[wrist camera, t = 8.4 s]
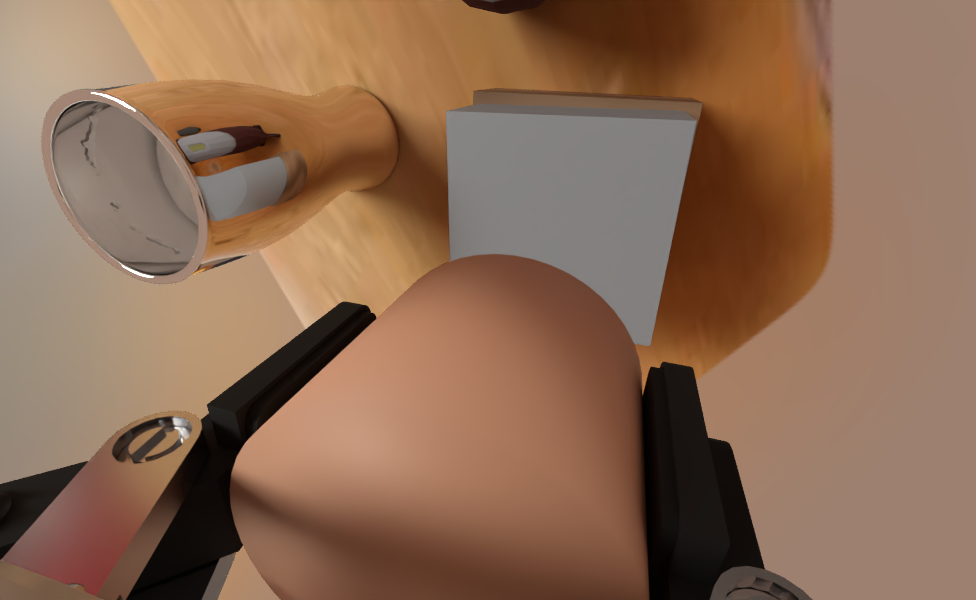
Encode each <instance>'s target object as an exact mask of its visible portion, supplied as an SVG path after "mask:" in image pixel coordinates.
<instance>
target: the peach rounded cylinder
mask: <svg viewBox="0 0 976 600" xmlns="http://www.w3.org/2000/svg"><path fill="white" fill-rule="evenodd" d="M230 503H231V510H232V514H233V519H234V523H235V526H236V529H237V531H238V534H239V537H240V539H241V542H242V544H243V546H244V548H245V550H246V551H247V554H248V556H249V557H250V559H251V561H252V562H253V564H254V565H255V567H256V568H257V570H258V572H259V573H260V575H261V576H262V578H263V579H264V580H265V581H266V583H267V584H268V585H269V587H270V588H271V589H272V590H273V592H274V593H275V594H276V595H277V596H278V597H279V598H280V599H281V600H649V577H648V548H647V518H646V488H645V459H644V429H643V399H642V373H641V367H640V362H639V357H638V354H637V351H636V348H635V345H634V342H633V340H632V338H631V336H630V334H629V332H628V331H627V329H626V327H625V325H624V324H623V322H622V321H621V319H620V318H619V317H618V315H617V314H616V312H615V311H614V310H613V309H612V308H611V307H610V306H609V305H608V303H607V302H606V301H605V300H604V299H603V298H602V297H601V296H600V295H598V294H597V293H596V292H595V291H594V290H592V289H591V288H590V287H589V286H588V285H586V284H585V283H583V282H582V281H580V280H578V279H577V278H575V277H574V276H572V275H571V274H569V273H567V272H565V271H563V270H560V269H558V268H556V267H554V266H552V265H549V264H546V263H543V262H540V261H537V260H534V259H530V258H525V257H520V256H515V255H504V254H484V255H474V256H469V257H463V258H459V259H456V260H453V261H450V262H447V263H444V264H443V265H441V266H439V267H437V268H435V269H433V270H431V271H429V272H428V273H427V274H425V275H424V276H422V277H421V278H420V279H418V280H417V281H416V282H415V283H414V284H413V285H412V286H411V287H410V288H409V289H408V290H407V291H405V292H404V293H403V294H402V295H401V296H400V297H399V298H398V299H397V300H396V301H395V302H394V303H393V304H392V305H391V306H389V307H388V308H387V309H386V310H385V311H384V312H383V313H382V314H381V315H380V316H379V317H378V318H377V319H376V320H375V321H373V322H372V323H371V324H370V325H369V326H368V327H367V328H366V329H365V330H364V331H363V332H362V333H361V334H360V335H358V336H357V337H356V338H355V339H354V340H353V341H352V342H351V343H350V344H349V345H348V346H347V347H346V348H345V349H344V350H342V351H341V352H340V353H339V354H338V355H337V356H336V357H335V358H334V359H333V360H332V361H331V362H330V363H329V364H328V365H326V366H325V367H324V368H323V369H322V370H321V371H320V372H319V373H318V374H317V375H316V376H315V377H314V378H313V379H311V380H310V381H309V382H308V383H307V384H306V385H305V386H304V387H303V388H302V389H301V390H300V391H299V392H298V393H297V394H295V395H294V396H293V397H292V398H291V399H290V400H289V401H288V402H287V403H286V404H285V405H284V406H283V407H282V408H281V409H279V410H278V411H277V412H276V413H275V414H274V415H273V416H272V417H271V418H270V419H269V420H268V421H267V422H266V423H264V424H263V425H262V426H261V427H260V428H259V429H258V430H257V431H256V432H255V433H254V434H253V435H252V436H251V437H250V438H249V439H248V440H247V441H246V442H245V444H244V446H243V447H242V449H241V451H240V452H239V454H238V456H237V458H236V461H235V464H234V467H233V470H232V473H231V481H230Z"/></svg>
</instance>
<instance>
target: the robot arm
mask: <svg viewBox="0 0 976 600" xmlns="http://www.w3.org/2000/svg"><path fill="white" fill-rule="evenodd" d="M375 320H376V316H375V314H374V313H371V311H370V309H369V307H368V306H366V305H361V304H356V303H350V302H341V303H340V304H338V305H337V306H336V307H334V308H333V309H332V310H331V311H329V312H328V313H327V314H325V315H324V316H323V317H321V318H320V319H319V320H317V321H316V322H315V323H313V324H312V325H311V326H310V327H308V328H307V329H306V330H304V331H303V332H302V333H300V334H299V335H298V336H296V337H295V338H294V339H292V340H291V341H290V342H289V343H287V344H286V345H285V346H283V347H282V348H281V349H279V350H278V351H277V352H275V353H274V354H273V355H271V356H270V357H269V358H268V359H266V360H265V361H264V362H262V363H261V364H260V365H258V366H257V367H256V368H254V369H253V370H252V371H251V372H249V373H248V374H247V375H245V376H244V377H243V378H241V379H240V380H239V381H237V382H236V383H235V384H234V385H232V386H231V387H229V388H228V389H227V390H226V391H224V392H223V393H222V394H220V395H219V396H218V397H216V398H215V399H214V400H212V401H211V402H210V403H208V404H207V407H208V411H209V414H208V415H206V416H205V417H204V418H203V419H201V420H200V419H199V418H198V417H197V416H196V415H194V414H192V413H189V412H186V411H168V412H160V413H156V414H153V415H149V416H145V417H143V418H141V419H138V420H136V421H134V422H131V423H130V424H128V425H126V426H125V427H123V428H121V429H120V430H118V431H117V432H116V433H115V434H114V435H112V437H110V438H109V439H108V440H107V441H106V442H105V443H104V445H103V446H102V447H101V448H100V449H99V450H98V451H97V452H96V453H95V455H94V456H93V457H92V458H91V459H90V460H89V461H86V462H82V463H78V464H75V465H71V466H67V467H64V468H60V469H56V470H52V471H48V472H45V473H41V474H37V475H33V476H30V477H26V478H22V479H18V480H14V481H10V482H7V483H3V484H0V600H217V599H218V597H219V594H220V592H221V590H222V587H223V585H224V583H225V580H226V578H227V575H228V573H229V570H230V568H231V566H232V563H233V561H234V558H235V555H236V552H238V551H239V550H240V549H241V547H242V546H243V544H242V542H241V539H240V537H239V534H238V531H237V529H236V526H235V523H234V519H233V514H232V510H231V503H230V481H231V473H232V470H233V467H234V464H235V461H236V458H237V456H238V454H239V452H240V451H241V449H242V447H243V446H244V444H245V442H246V441H247V440H248V439H249V438H250V437H251V436H252V435H253V434H254V433H255V432H256V431H257V430H258V429H259V428H260V427H261V426H262V425H263V424H264V423H266V422H267V421H268V420H269V419H270V418H271V417H272V416H273V415H274V414H275V413H276V412H277V411H278V410H279V409H281V408H282V407H283V406H284V405H285V404H286V403H287V402H288V401H289V400H290V399H291V398H292V397H293V396H294V395H295V394H297V393H298V392H299V391H300V390H301V389H302V388H303V387H304V386H305V385H306V384H307V383H308V382H309V381H310V380H311V379H313V378H314V377H315V376H316V375H317V374H318V373H319V372H320V371H321V370H322V369H323V368H324V367H325V366H326V365H328V364H329V363H330V362H331V361H332V360H333V359H334V358H335V357H336V356H337V355H338V354H339V353H340V352H341V351H342V350H344V349H345V348H346V347H347V346H348V345H349V344H350V343H351V342H352V341H353V340H354V339H355V338H356V337H357V336H358V335H360V334H361V333H362V332H363V331H364V330H365V329H366V328H367V327H368V326H369V325H370V324H371V323H372V322H373V321H375ZM642 399H643V429H644V459H645V488H646V518H647V548H648V577H649V600H812V599H811V598H810V597H809V596H808V595H807V594H806V593H805V592H804V591H803V590H801V589H800V588H798V587H797V586H795V585H794V584H793V583H791V582H790V581H788V580H787V579H785V578H783V577H781V576H779V575H777V574H775V573H772V572H770V571H768V570H765V568H764V564H763V560H762V557H761V553H760V549H759V546H758V542H757V539H756V535H755V531H754V528H753V524H752V520H751V516H750V513H749V509H748V505H747V502H746V498H745V494H744V491H743V487H742V484H741V480H740V476H739V472H738V469H737V465H736V461H735V458H734V454H733V450H732V448H731V446H730V444H729V443H728V442H726V441H721V440H717V439H712V438H708V436H707V431H706V426H705V422H704V417H703V412H702V407H701V403H700V398H699V393H698V389H697V384H696V379H695V375H694V370H693V368H692V367H689V366H683V365H678V364H673V363H667V362H663V363H662V364H661V366H660V368H656V367H651V368H650V370H649V373H648V377H647V381H646V385H645V389H644V393H643V397H642Z"/></svg>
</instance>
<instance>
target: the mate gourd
mask: <svg viewBox="0 0 976 600" xmlns="http://www.w3.org/2000/svg"><path fill="white" fill-rule="evenodd" d="M462 1H464V2H465V3H466V4H467V5H469V6H470V7H474V8H478V9H483V10H487V11H492V12H496V13H500V14H507V13H512V12H516V11H520V10H525V9H529V8H533V7H538V6H539V5H540V4H542V3H543V2H544V1H546V0H462Z"/></svg>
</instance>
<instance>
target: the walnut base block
mask: <svg viewBox="0 0 976 600" xmlns="http://www.w3.org/2000/svg"><path fill="white" fill-rule="evenodd" d="M476 104H501V105H531V106H560V107H589V108H618V109H648V110H677V111H685V112H686V113H687V114H689V115H690V116H691V117H693V118H694V119H695V120H696V121H697V122H696V127H695V132H694V137H693V141H692V146H691V151H690V156H689V161H688V166H689V162H690V158H691V153H692V149H693V145H694V140H695V136H696V132H697V127H698V123H699V118H700V114H701V110H702V105H703V103H702V102H699V101H697V100H695V99H693V98H680V97H660V96H640V95H620V94H601V93H581V92H561V91H541V90H521V89H502V88H494V89H486V90H478V91H474V94H473V105H476ZM688 166H687V170H686V175H687V171H688ZM686 175H685V179H686ZM684 184H685V180H684ZM683 188H684V185H683ZM682 192H683V190H682ZM681 197H682V195H681ZM680 201H681V200H680ZM679 205H680V204H679ZM678 210H679V209H678Z"/></svg>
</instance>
